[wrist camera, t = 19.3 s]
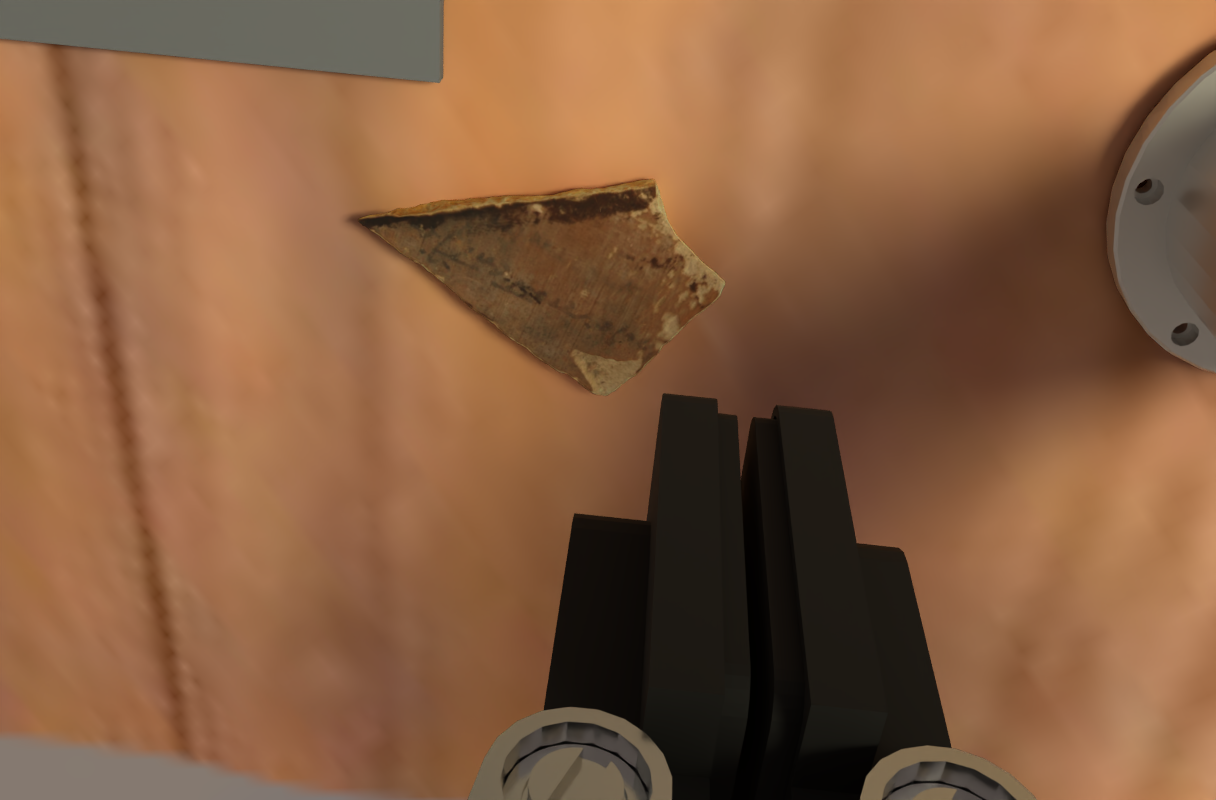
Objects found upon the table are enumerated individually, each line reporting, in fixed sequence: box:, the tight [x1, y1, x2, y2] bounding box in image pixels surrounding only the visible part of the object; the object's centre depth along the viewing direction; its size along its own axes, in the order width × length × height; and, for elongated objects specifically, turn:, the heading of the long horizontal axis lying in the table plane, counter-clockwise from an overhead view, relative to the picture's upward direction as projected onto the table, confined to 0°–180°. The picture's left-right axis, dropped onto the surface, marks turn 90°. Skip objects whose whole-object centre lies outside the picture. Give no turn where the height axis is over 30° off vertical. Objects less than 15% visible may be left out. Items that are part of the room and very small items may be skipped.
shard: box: [358, 179, 725, 396], centre depth 39 cm, size 11×8×2 cm
